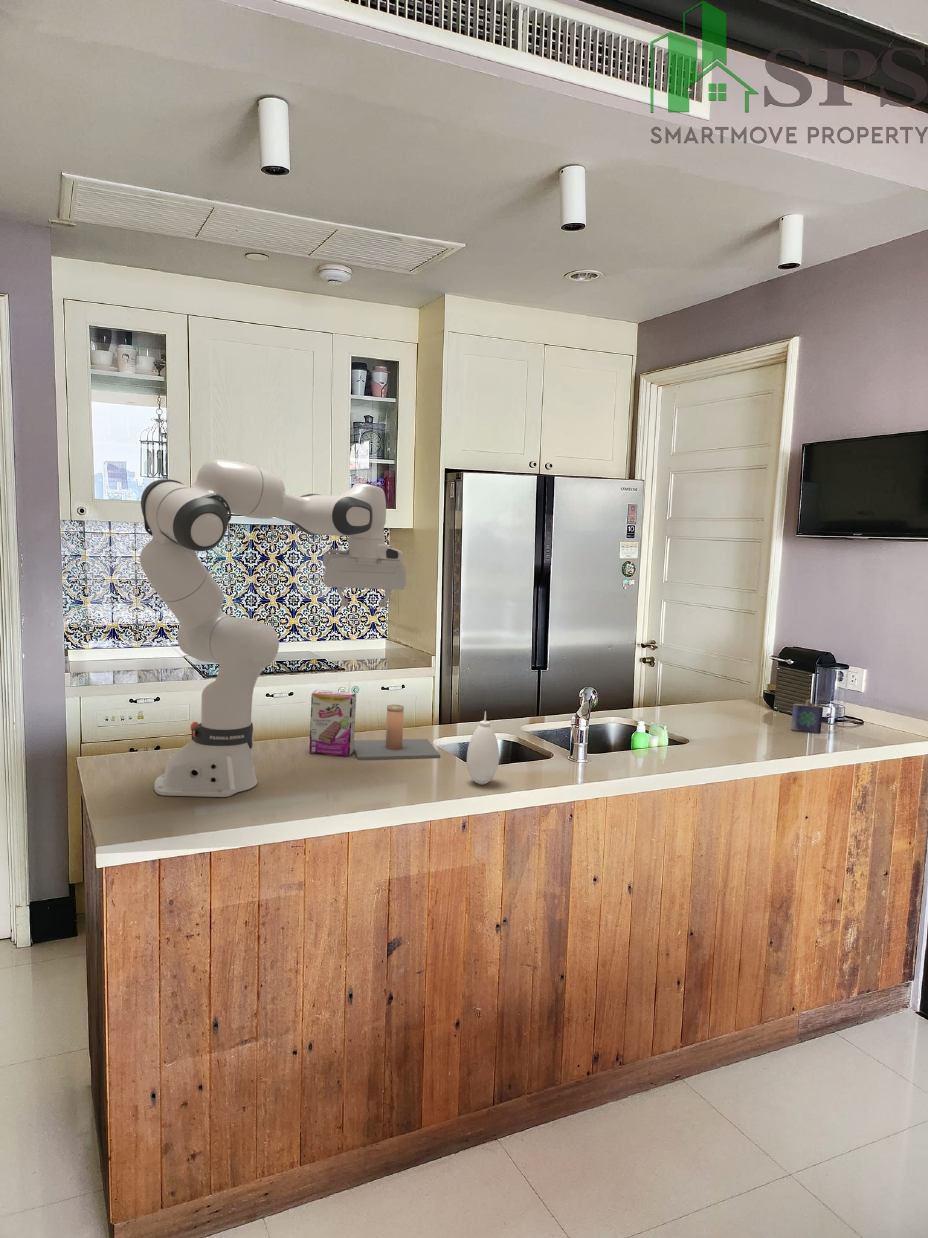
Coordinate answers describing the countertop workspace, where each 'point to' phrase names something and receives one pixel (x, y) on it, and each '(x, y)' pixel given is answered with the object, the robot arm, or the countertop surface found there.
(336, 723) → the candy bar box
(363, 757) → the mat
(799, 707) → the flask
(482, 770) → the white air blower bulb
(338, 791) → the countertop surface
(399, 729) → the spice jar
